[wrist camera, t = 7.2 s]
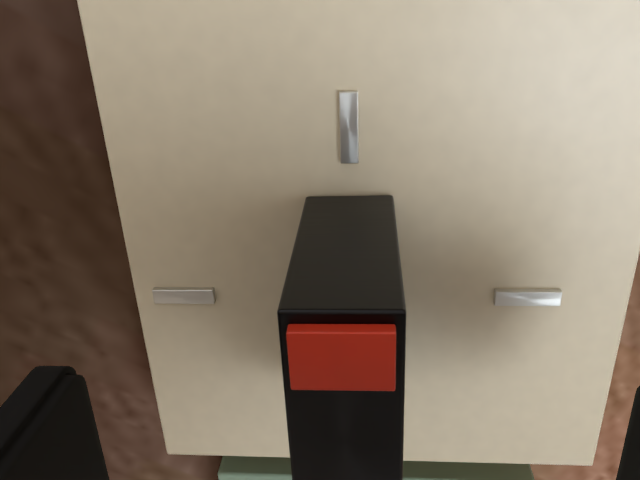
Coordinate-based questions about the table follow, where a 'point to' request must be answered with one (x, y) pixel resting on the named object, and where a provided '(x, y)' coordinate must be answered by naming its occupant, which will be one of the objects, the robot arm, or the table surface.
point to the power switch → (418, 476)
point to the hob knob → (344, 341)
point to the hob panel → (381, 179)
